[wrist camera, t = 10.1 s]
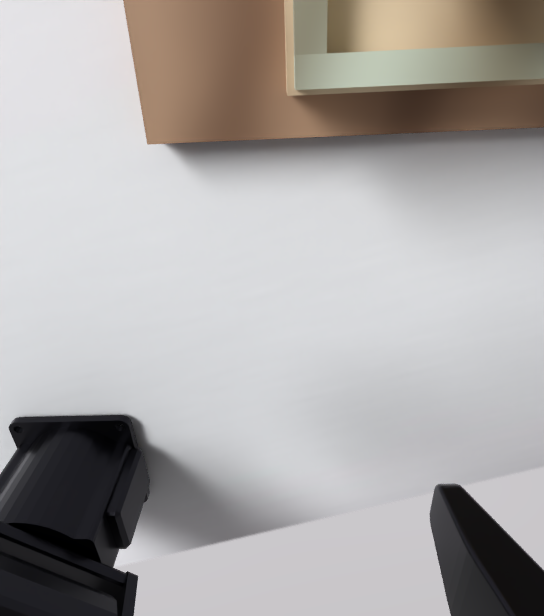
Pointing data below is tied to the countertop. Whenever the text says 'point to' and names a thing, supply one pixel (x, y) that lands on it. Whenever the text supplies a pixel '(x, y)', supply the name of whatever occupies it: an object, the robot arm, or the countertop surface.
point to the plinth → (335, 67)
